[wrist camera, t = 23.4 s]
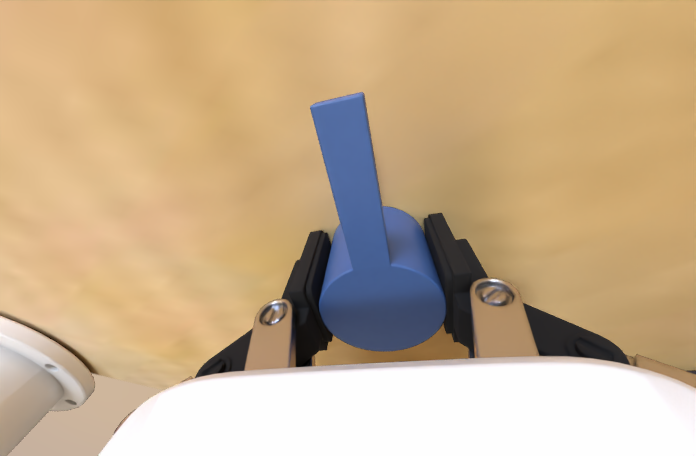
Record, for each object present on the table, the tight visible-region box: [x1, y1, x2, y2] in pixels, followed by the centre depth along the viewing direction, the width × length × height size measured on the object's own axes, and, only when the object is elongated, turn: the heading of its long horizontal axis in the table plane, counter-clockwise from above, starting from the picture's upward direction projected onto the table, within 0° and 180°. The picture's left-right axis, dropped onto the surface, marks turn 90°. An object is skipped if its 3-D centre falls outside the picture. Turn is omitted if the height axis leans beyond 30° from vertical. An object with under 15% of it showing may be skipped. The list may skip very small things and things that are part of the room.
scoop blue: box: [310, 92, 446, 351], centre depth 9 cm, size 4×9×4 cm, turn 12°
